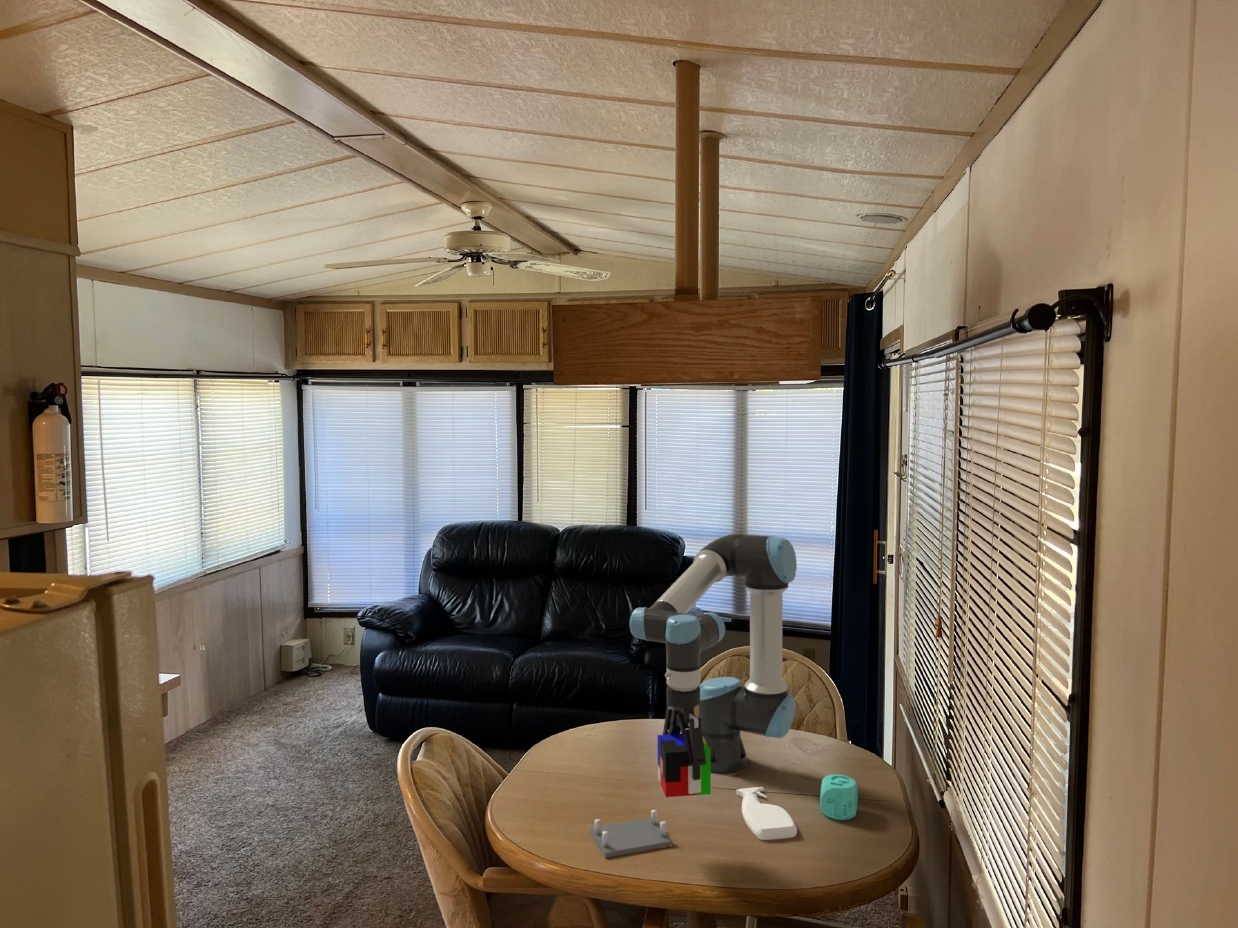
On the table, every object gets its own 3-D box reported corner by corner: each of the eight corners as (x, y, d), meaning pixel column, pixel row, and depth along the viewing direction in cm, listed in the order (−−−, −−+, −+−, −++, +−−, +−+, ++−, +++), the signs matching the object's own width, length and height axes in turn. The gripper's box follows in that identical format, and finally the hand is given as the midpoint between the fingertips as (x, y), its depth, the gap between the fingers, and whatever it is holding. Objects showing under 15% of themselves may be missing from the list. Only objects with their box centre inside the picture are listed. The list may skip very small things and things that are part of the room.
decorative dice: (819, 817, 210) (820, 785, 209) (824, 802, 217) (825, 771, 216) (853, 822, 207) (854, 790, 206) (857, 808, 214) (858, 776, 213)
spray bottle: (755, 842, 198) (726, 796, 223) (801, 838, 200) (767, 793, 224) (755, 830, 198) (726, 785, 222) (801, 826, 200) (767, 781, 224)
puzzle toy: (657, 777, 198) (657, 734, 197) (700, 774, 199) (700, 732, 199) (665, 797, 188) (665, 752, 188) (710, 794, 190) (710, 749, 189)
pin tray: (653, 821, 208) (653, 804, 208) (672, 845, 197) (672, 827, 196) (589, 832, 203) (589, 814, 203) (605, 857, 192) (604, 839, 191)
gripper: (648, 672, 202) (649, 763, 204) (689, 705, 180) (689, 807, 182) (677, 668, 204) (678, 758, 206) (722, 700, 182) (722, 801, 184)
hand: (683, 781), depth 194 cm, fingers closed on puzzle toy, 11 cm apart
